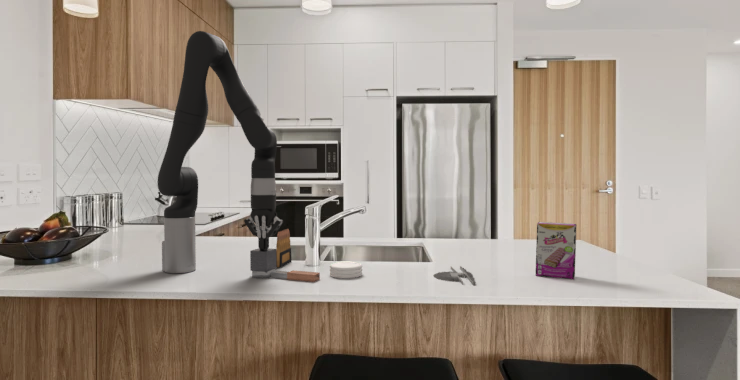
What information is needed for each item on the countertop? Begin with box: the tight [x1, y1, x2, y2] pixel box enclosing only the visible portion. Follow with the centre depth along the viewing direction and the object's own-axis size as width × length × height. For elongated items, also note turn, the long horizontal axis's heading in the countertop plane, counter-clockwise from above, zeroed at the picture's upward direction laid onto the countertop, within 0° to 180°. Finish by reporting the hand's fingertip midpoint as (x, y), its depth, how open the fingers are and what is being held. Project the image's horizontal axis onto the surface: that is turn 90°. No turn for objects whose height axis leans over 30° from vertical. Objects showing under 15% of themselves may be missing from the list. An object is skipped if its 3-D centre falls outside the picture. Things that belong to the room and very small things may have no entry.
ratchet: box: [251, 268, 321, 283], centre depth 139 cm, size 22×7×7 cm, turn 70°
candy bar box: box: [535, 221, 577, 280], centre depth 141 cm, size 11×5×16 cm, turn 65°
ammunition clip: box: [275, 228, 292, 269], centre depth 158 cm, size 11×2×12 cm, turn 170°
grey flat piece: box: [433, 265, 476, 286], centre depth 142 cm, size 28×28×1 cm
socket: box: [249, 247, 277, 272], centre depth 141 cm, size 6×6×6 cm
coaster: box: [329, 261, 363, 279], centre depth 143 cm, size 10×10×4 cm
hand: (263, 250), depth 141 cm, fingers closed
